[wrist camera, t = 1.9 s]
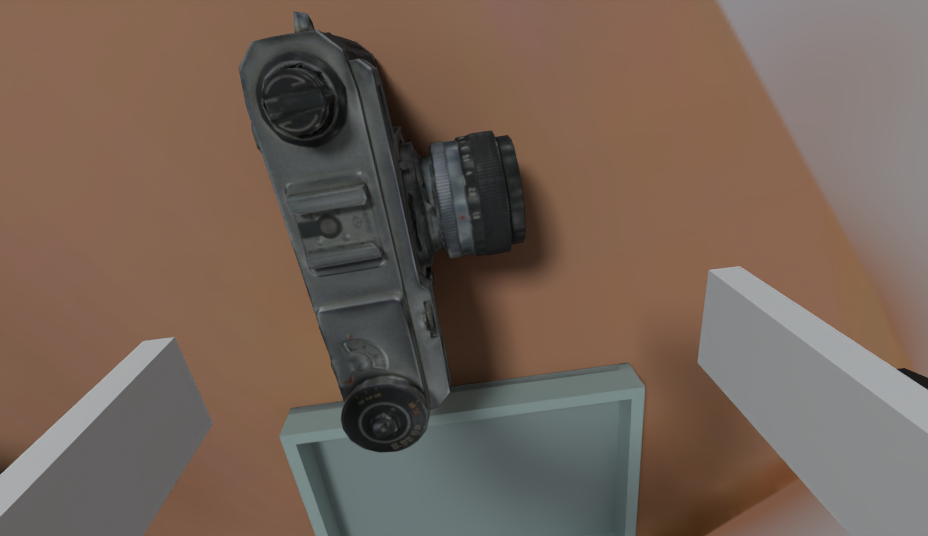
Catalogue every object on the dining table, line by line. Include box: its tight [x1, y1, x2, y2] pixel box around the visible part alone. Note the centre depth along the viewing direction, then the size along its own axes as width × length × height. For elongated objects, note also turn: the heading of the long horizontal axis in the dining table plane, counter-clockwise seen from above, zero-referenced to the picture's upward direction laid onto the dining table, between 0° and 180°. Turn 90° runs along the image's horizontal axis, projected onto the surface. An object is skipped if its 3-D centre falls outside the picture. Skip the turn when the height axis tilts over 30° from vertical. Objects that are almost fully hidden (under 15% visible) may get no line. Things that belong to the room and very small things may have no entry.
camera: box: [239, 11, 526, 453], centre depth 20 cm, size 18×9×10 cm, turn 10°
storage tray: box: [279, 363, 645, 536], centre depth 32 cm, size 23×17×2 cm
